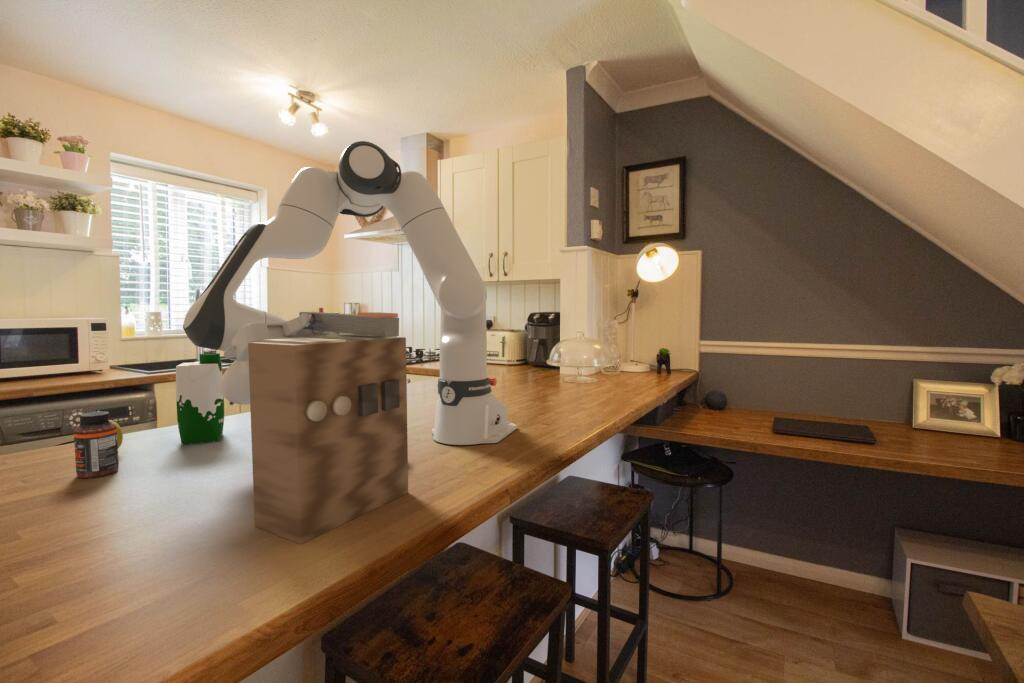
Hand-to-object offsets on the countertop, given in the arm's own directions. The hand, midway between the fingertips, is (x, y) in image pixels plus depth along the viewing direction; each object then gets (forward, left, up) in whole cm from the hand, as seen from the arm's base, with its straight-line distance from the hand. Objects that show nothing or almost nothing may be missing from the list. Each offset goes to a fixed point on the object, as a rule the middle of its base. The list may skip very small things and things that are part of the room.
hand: (321, 316), depth 79 cm
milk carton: (-5, -50, -29) cm, 58 cm away
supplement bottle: (+17, -42, -29) cm, 54 cm away
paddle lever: (0, +6, -2) cm, 7 cm away
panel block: (+5, +9, -29) cm, 31 cm away
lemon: (+12, -53, -29) cm, 61 cm away
